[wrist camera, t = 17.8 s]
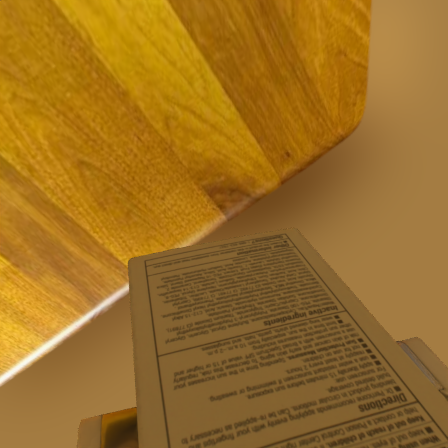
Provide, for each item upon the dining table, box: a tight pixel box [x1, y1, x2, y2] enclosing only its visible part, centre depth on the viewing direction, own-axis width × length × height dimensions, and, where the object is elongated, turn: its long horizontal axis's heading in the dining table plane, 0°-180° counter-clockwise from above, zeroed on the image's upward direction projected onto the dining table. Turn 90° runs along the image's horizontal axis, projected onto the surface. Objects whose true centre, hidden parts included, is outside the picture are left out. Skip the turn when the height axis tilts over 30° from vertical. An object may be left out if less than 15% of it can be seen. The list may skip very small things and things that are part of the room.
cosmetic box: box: [128, 228, 448, 448], centre depth 9 cm, size 6×4×12 cm
